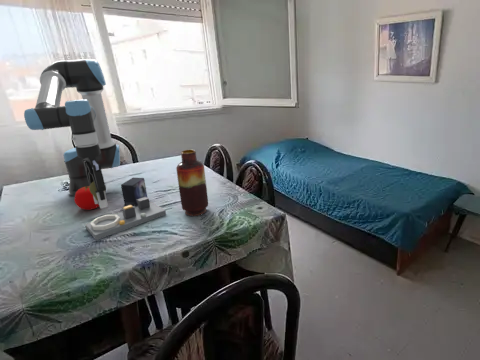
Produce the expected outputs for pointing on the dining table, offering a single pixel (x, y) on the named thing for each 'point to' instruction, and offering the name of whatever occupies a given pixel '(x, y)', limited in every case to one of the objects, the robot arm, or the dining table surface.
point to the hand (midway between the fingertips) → (101, 204)
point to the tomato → (85, 199)
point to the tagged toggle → (128, 211)
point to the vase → (192, 184)
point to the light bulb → (93, 189)
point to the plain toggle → (143, 203)
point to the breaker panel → (122, 221)
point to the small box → (133, 191)
